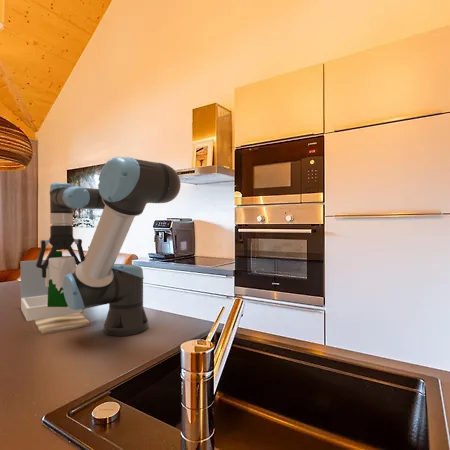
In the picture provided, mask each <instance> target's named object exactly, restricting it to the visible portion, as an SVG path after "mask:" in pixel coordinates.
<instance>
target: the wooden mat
mask: <svg viewBox="0 0 450 450" xmlns="http://www.w3.org/2000/svg"><path fill="white" fill-rule="evenodd" d="M34 324H35V326H36V328H37V330H38V331H39V333H40V335H47V334H52V333H58V332H62V331H67V330H73V329H80V328H85V327H88V326H91V325H92V323H91V321H90V320H88V319H87V318H86V317H85V316H84V315H83V314H82V313H81V312H80V313H74V314H68V315H62V316H56V317H50V318H44V319H38V320H34Z"/></svg>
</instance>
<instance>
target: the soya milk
mask: <svg viewBox="0 0 450 450" xmlns="http://www.w3.org/2000/svg"><path fill="white" fill-rule="evenodd" d="M45 260H47V257H46V258H45ZM48 261H49V264H48V266H47V267H48V269H49V287H48V306H47V307H68V305H67V303H66V300H65V297H64V292H63V278H64V276H65V275H66V274H69V273H71V274H72V273H74V272H75V269H76V266H77V265H76V261H75V259H74V257H72V256H71V255H63V251H62V250H56V252H55V253H54V255H53V257H52V258H49V260H48Z"/></svg>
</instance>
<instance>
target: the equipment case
mask: <svg viewBox="0 0 450 450" xmlns="http://www.w3.org/2000/svg"><path fill="white" fill-rule="evenodd" d="M37 260H38V259H35V260H24V261H23V260H22V261H19V263H20V310H21V312H22V314H23V316H24V319H25V320H26V322H30V321H31V322H32V321H35V320H39V319H45V318H51V317H57V316H63V315H69V314H75V313H80V314H81V313H82V312H83V309H80V310H73V309H71V308H70V307H69V306H68V307H47V306H48V287H46V286H45V278H43V277H42V269H41V268H38V267H36V263H37ZM45 260H46V259H43V260H42V264H41V265H43V263H44V261H45ZM47 268H48V267H47Z"/></svg>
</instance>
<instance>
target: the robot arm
mask: <svg viewBox="0 0 450 450" xmlns="http://www.w3.org/2000/svg"><path fill="white" fill-rule="evenodd" d="M98 181H99V182H98V184H97V186H98V188H89V187H83V186H77V185H76V186H75V185H72V184H71V183H67V182H53V183H51V184H50V185H49V186H50V187H49V213H50V215H49V217H50V218H49V221H50V224H51V225H50V227H49V228H50V230H49V231H50V235H49V239H46V240H44V239H41V240H40V248H39V253H38V256H37V259H36V260H37V263H36V267H38V268H41V269H42V277H43V278H45V286H46V287H49V269H48V268H47V266H48V264H49V261H48V260H49V258H52V257H53V255H54V253H55V252H56V251H62V250H64V251H65V250H67V252H68V254H69V256H72V257H74V259H75V261H76V269H75V272H74V273H72V274H71V273H69V274H66V275H65V276H64V278H63V292H64V297H65V300H66V303H67V305H68V306H69V307H70V308H71V309H73V310H80V309H82V310H85V309H90V308H95V307H99V306H102V305H108V312H107V314H106V318H105V321H104V324H103V332H104V333H105V334H106V335H108V336H114V337H126V336H131V335H132V336H133V335H137V334H141V333H143V332H145V331H147V329H148V328H149V319H148V317H147V314H146V311H145V308H144V279H145V278H144V271H143V268H142V267H141V266H140V265H135V264H123V263H116V262H117V261H116V260H117V259H118V257H119V254H120V251H121V249H122V246H123V245H124V242H125V241H126V238H127V235H128V233H129V230H130V229H131V227H132V224H133V222H134V219H135V217H137V216H141V215H142V214H143V212H144V210H145V207H146V206H147V204H167V203H169V202H172V201H173V200H175V198H177V196H179V193H180V190H181V186H182V185H181V184H182V183H181V178H180V176H179V174H178V173H177V171H176V170H175V169H174V168H173V167H171V166H170V165H168V164H166V163H163V162H157V161H155V162H154V161H149V160H142V159H137V158H134V157H129V156H114V157H113V158H110V159H108V161H106V162H105V164H104V165H103V166H102V168H101V170H100V173H99V176H98ZM75 209H82V210H83V209H84V210H85V209H89V210H102V213H101V215H100V217H99V221H98V223H97V226H96V229H95V231H94V233H93V236H92V239H91V241H90V244H89V247H88V249H87V252H86V255H85V253H84V250H83V246H82V245H83V240H82V239H81V238H74V228H73V227H74V226H73V225H72V224H73V223H74V218H73V217H74V216H73V215H74V211H73V210H75ZM73 243H74V244H75V245H76V248H77V251H78V255H79V258H78V256H77V254H76V252H75V251H74V249H73V247H72V245H73ZM49 244H50V245H51V248H50V251H49V253H47V254H48V255H47V256H46V258H47V260H46V259H44V255H45V252H46V248H47V246H48V245H49ZM42 260H45V261H44V263H43V265H41V264H42Z"/></svg>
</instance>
